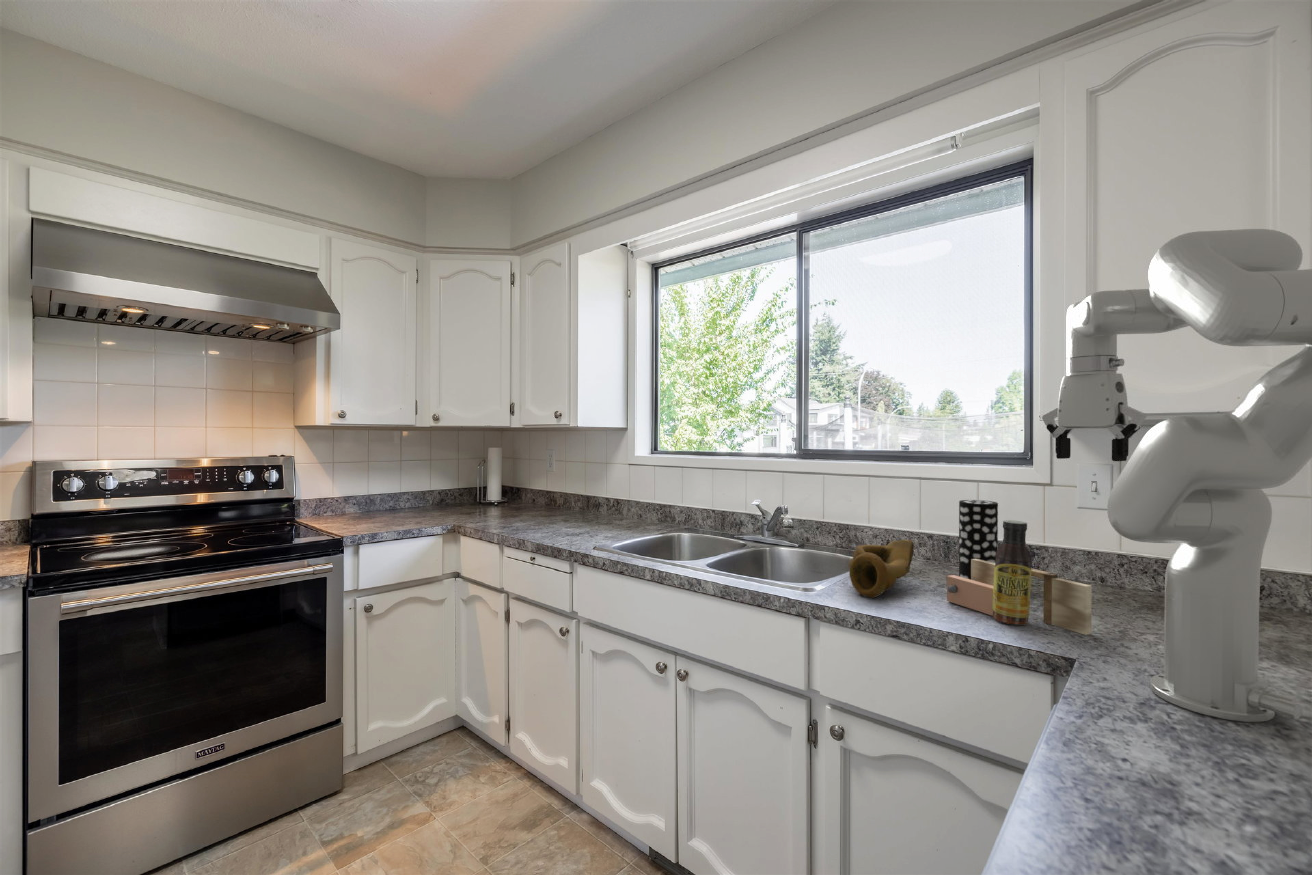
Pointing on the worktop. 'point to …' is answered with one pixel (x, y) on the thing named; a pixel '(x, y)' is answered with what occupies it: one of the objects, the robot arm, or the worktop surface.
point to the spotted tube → (977, 533)
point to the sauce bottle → (1012, 576)
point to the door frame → (1051, 597)
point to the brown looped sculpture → (879, 566)
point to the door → (970, 594)
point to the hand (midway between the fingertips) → (1090, 459)
